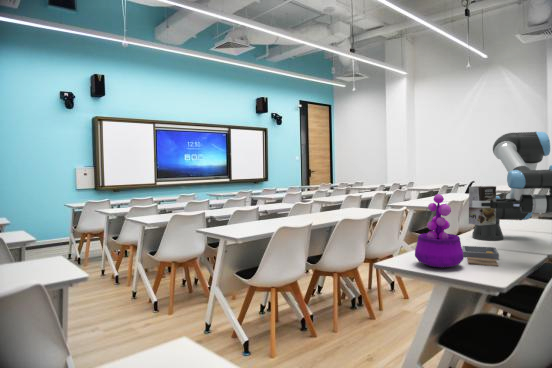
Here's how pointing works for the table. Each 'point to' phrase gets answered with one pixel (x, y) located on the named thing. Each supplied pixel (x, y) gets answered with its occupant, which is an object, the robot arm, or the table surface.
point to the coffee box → (482, 214)
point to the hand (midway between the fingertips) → (471, 202)
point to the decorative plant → (439, 240)
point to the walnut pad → (482, 261)
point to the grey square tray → (480, 252)
